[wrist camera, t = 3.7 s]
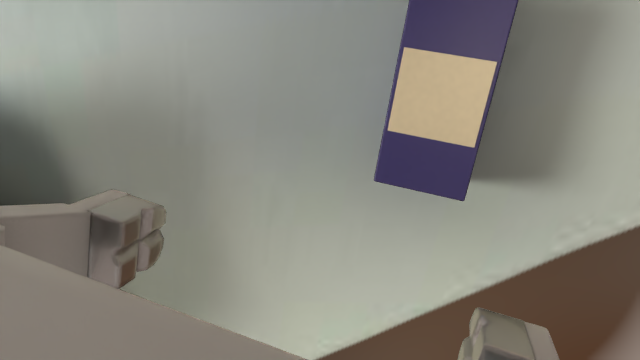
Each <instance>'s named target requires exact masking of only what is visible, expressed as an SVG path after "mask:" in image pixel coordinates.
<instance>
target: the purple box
mask: <svg viewBox="0 0 640 360" xmlns="http://www.w3.org/2000/svg"><path fill="white" fill-rule="evenodd" d="M517 3H518V0H409V5H408V10H407V15H406V20H405V25H404V30H403V35H402V40H401V45H400V50H399V55H398V60H397V65H396V70H395V75H394V80H393V85H392V90H391V96H390V101H389V106H388V111H387V116H386V121H385V126H384V131H383V136H382V141H381V146H380V151H379V156H378V161H377V166H376V171H375V176H374V181H376V182H381V183H385V184H389V185H394V186H398V187H403V188H407V189H412V190H416V191H420V192H425V193H429V194H434V195H438V196H443V197H447V198H451V199H456V200H460V201H464V200H465V196H466V193H467V189H468V185H469V182H470V178H471V174H472V170H473V167H474V163H475V159H476V156H477V152H478V148H479V144H480V141H481V137H482V133H483V130H484V126H485V122H486V118H487V115H488V111H489V107H490V104H491V100H492V96H493V92H494V89H495V85H496V81H497V78H498V74H499V70H500V67H501V63H502V59H503V55H504V52H505V48H506V44H507V41H508V37H509V33H510V29H511V26H512V22H513V18H514V15H515V11H516V7H517Z"/></svg>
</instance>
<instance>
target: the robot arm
mask: <svg viewBox="0 0 640 360" xmlns="http://www.w3.org/2000/svg"><path fill="white" fill-rule="evenodd" d="M165 223H166V210H165V208H164V206H162V205H159V204H156V203H153V202H150V201H147V200H144V199H141V198H138V197H135V196H132V195H130V194H128V193H124V192H121V191H117V190H113V189H111V190H108V191H105V192H103V193H100V194H97V195H94V196H91V197H89V198H86V199H83V200H80V201H78V202H75V203H72V204H69V205H67V204H64V203H56V204H31V205H6V206H0V360H307V359H305V358H302V357H299V356H297V355H294V354H291V353H289V352H286V351H283V350H281V349H278V348H275V347H272V346H270V345H267V344H264V343H262V342H259V341H256V340H254V339H251V338H248V337H246V336H243V335H240V334H238V333H235V332H232V331H230V330H227V329H224V328H222V327H219V326H216V325H214V324H211V323H208V322H206V321H203V320H200V319H198V318H195V317H192V316H190V315H187V314H184V313H182V312H179V311H176V310H174V309H171V308H168V307H165V306H163V305H160V304H157V303H155V302H152V301H149V300H147V299H144V298H141V297H139V296H136V295H133V294H131V293H128V292H125V291H123V290H120V289H119V288H121V287H122V286H124V285H125V284H127V283H128V282H130V281H131V280H133V279H134V278H135V274H136V272H138V271H144V270H147V269H149V268H150V267H151V266H153V265H154V264H155V262H156V261H157V259H158V258H159V256H160V254H161V251H162V248H163V242H164V238H163V235H162V233H161V231H160V228H161V227H162V226H163V225H164V224H165ZM469 324H470V336H469V337H468V338H466V339H464V340H463V343H462V346H461V349H460V352H459V356H458V360H559V357H558V355H557V352H556V349H555V347H554V344H553V342H552V339H551V337H550V334H549V332H548V330H547V329H546V328H544V327H541V326H538V325H534V324H530V323H527V322H524V321H522V320H519V319H516V318H512V317H509V316H505V315H502V314H499V313H495V312H492V311H489V310H485V309H482V308H476V309H475V311H474V313H473V315H472V318H471V321H470V323H469Z"/></svg>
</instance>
